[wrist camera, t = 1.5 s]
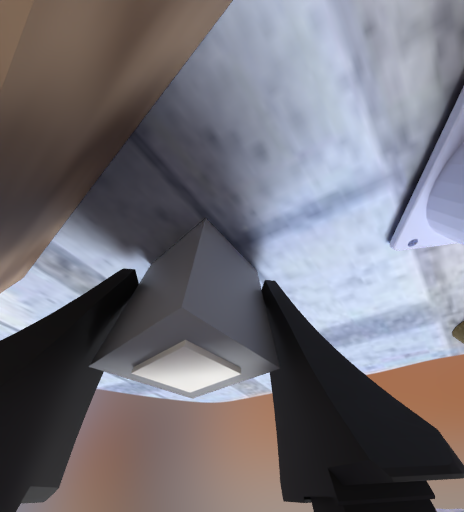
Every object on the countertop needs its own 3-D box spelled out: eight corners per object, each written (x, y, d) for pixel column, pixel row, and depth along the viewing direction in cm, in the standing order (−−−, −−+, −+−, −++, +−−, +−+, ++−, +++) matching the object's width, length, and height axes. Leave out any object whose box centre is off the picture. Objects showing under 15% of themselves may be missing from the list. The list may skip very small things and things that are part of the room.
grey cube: (205, 217, 9) (179, 313, 4) (256, 270, 11) (281, 374, 6) (151, 264, 11) (84, 372, 6) (205, 302, 13) (191, 403, 8)
